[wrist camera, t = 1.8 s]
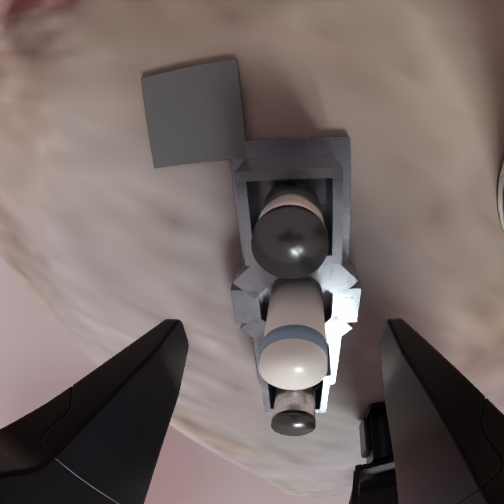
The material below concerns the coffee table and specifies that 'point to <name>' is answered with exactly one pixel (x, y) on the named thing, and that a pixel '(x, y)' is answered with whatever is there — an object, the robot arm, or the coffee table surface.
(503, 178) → the coffee can
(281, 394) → the plunger
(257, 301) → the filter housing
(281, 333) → the cartridge
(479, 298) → the coffee table surface
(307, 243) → the plunger
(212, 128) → the rubber pad
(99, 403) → the robot arm
